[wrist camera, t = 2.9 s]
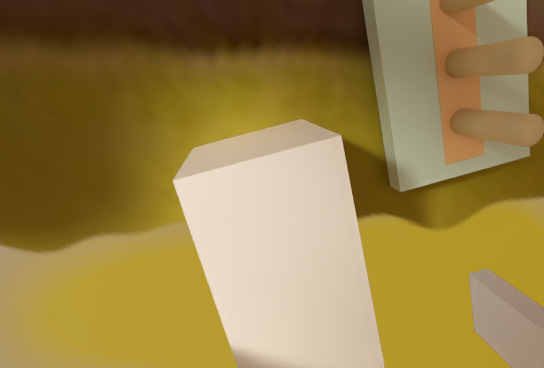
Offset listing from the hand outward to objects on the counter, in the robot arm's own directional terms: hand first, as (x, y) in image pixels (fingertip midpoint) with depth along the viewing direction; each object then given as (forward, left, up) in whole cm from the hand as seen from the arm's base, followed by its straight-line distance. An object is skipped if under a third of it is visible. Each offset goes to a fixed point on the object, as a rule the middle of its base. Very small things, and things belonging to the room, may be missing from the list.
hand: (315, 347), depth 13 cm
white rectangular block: (0, 0, -11) cm, 11 cm away
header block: (+13, +8, -11) cm, 19 cm away
